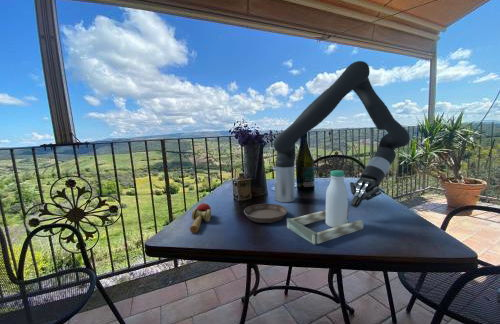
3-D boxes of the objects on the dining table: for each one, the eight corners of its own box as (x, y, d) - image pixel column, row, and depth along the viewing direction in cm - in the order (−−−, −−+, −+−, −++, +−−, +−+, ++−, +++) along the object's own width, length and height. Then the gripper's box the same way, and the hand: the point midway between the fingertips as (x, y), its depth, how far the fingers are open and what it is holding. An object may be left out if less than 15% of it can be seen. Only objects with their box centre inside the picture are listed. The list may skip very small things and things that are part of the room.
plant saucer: (255, 207, 106) (254, 201, 105) (292, 212, 98) (292, 205, 97) (236, 221, 90) (236, 214, 90) (279, 228, 82) (278, 220, 82)
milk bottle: (346, 230, 78) (347, 173, 75) (323, 226, 82) (323, 172, 79) (349, 222, 84) (350, 169, 82) (328, 219, 88) (328, 168, 86)
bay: (331, 215, 92) (331, 207, 91) (363, 228, 79) (363, 219, 79) (286, 227, 82) (286, 218, 82) (314, 244, 69) (314, 234, 69)
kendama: (207, 236, 81) (215, 211, 98) (202, 220, 79) (212, 198, 97) (187, 240, 82) (198, 215, 99) (181, 224, 80) (194, 202, 97)
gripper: (356, 163, 94) (334, 196, 91) (388, 167, 83) (364, 205, 79) (364, 174, 97) (344, 206, 94) (396, 179, 86) (374, 217, 82)
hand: (353, 206), depth 86 cm, fingers closed
